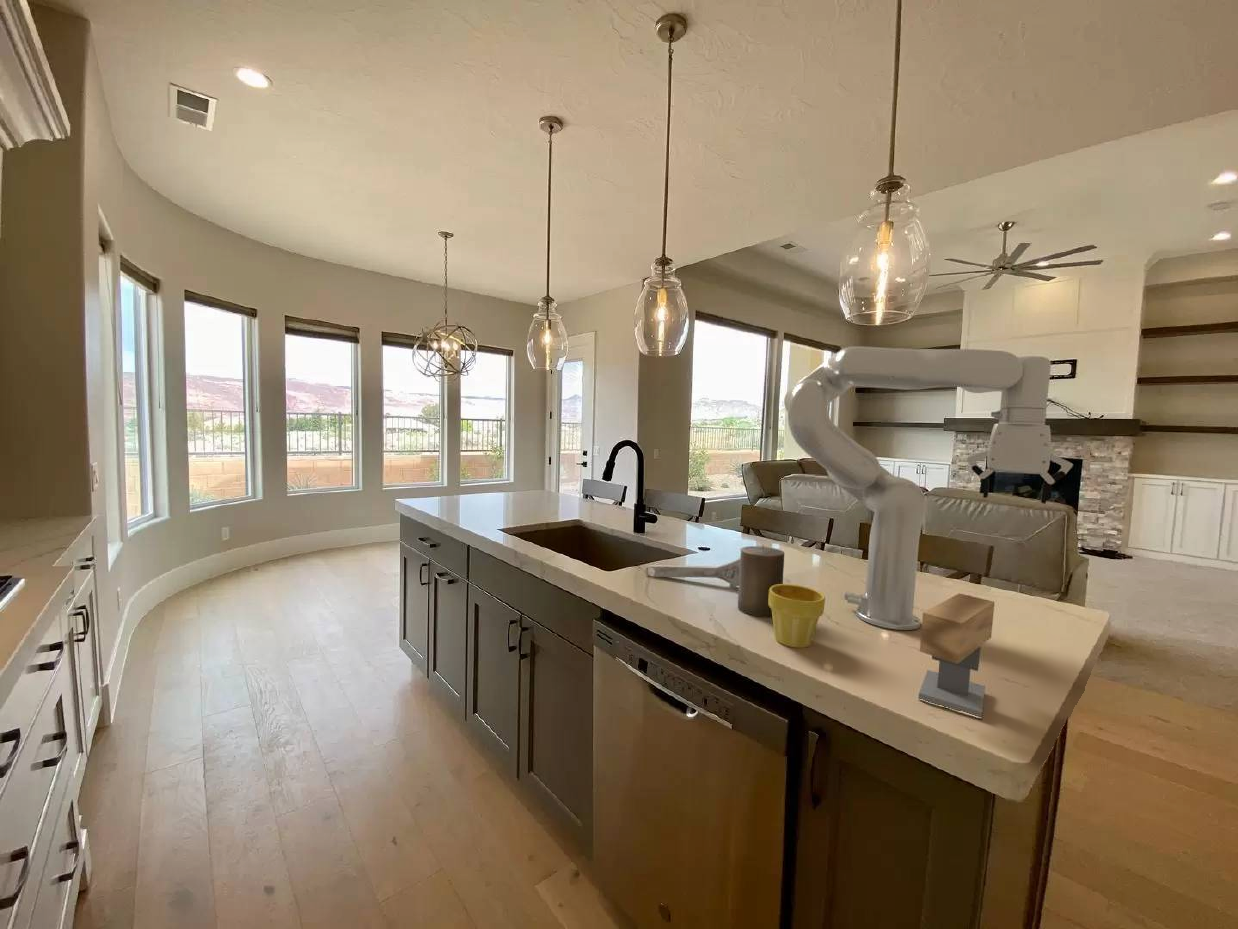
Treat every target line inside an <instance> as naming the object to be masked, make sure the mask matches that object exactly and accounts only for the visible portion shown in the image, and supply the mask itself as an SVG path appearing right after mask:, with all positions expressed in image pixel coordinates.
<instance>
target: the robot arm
mask: <svg viewBox="0 0 1238 929" xmlns="http://www.w3.org/2000/svg"><path fill="white" fill-rule="evenodd" d="M1051 365H1052V364H1051V361H1050V359H1049V358H1047V357H1044V356H1038V355H1037V356H1036V355H1034V356H1029V355H1028V356H1017V355H1016V354H1014V353H1011V352H1008V351H1006V350H1005V351H1003V350H993V349H972V348H968V349H967V348H950V349H948V348H946V349H945V348H941V349H939V348H937V349H936V348H921V349H920V348H900V347H899V348H895V347H893V348H892V347H877V346H876V347H875V346H860V345H859V346H848V347H844V348H842V349H841V350H839V351H838V352H836V353H834V354H833V355H831V357H830V358H828V359H827V360H826V361H824V362H823V363H822V364H821V365H819V366H818V367H817V368H815V369H814V370H812V371H811V372H810V373H808V374H807V375H806V376H804V377H803V378H801V379H800V380H799V381H798V382H796V383H795V384H793V385H792V386H790V388H789V389H788V390H787V391H786V393H785V395H784V399H783V400H784V408H785V410H786V412H787V422H788V427H789V431H790V433H791V435H792V438H793V439H794V442H795V443H796V444H797V445H798V447H799V448H800V449H802V450H803V452H805V453H806V454H808V456H809V457H811V458H812V459H813V460H814V461H815V462H816V463H818V465H820V466H821V467H822V468H824V469H825V470H826V473H827V476H828V477H829V478H830V479H831V480H832V481H833V482H834V483H835V484H837V485H838V486H839V487H840V488H842V489H843V490H844V491H845V492H846V493H848V494H849V495H850V496H851V497H853V498H854V499H856V500H857V501H859V503H861V504H862V505H863V506H864V507H866V508H867V509H869V511H872V512H873V519H872V523H871V526H870V532H869V542H868V555H867V557H868V558H867V566H866V567H867V568H866V570H867V571H866V579H865V580H866V581H865V590H864V591H865V592H864V593H860V594H856V593H854V592H849V591H845V593H844V598H843V599H844V600H845V601H847V603H849V604H852V605H857V606H858V607H857V608H856V610H855V611H856V613H855V614H856V616H857V617H858V618H859V619H860V620H862V621H864V622H865V623H868V624H871V625H873V626H877V627H881V628H884V629H889V630H895V631H913V630H916V629H918V628H920V627H921V623H922V621H921V619H920V618H919V617H918V616H917V615H915V614H914V603H915V593H916V592H915V591H916V590H915V589H916V578H917V569H918V568H917V567H918V558H919V557H918V556H919V547H920V546H919V544H920V536H921V531H922V525H923V522H924V518H925V514H926V508H927V501H926V496H925V494H924V492H923V490H922V489H921V487H920V486H919V485H918V484H917V483H915V482H914V481H912V480H910V479H908V478H905V477H901V476H895V475H894V474H893V473H891V472H890V471H888V470H887V469H885V468H884V467H883V466H882V465H881V464H880V462H879V460H878V458H877V456H876V455H874V453H872V451H870V450H869V449H867V448H865V447H863V446H862V445H860V443H858V442H857V441H856V440H854V439H853V438H851V437H850V436H849V435H848V434H846V433H845V432H844V431H843V430H842V429H840V428H839V427H838V426H837V425H836V424H835V423H834V421H832V419H831V418H830V416H829V409H828V408H829V404H830V403H832V402H833V401H834V400H836V399H837V398H838V397H840V396H841V395H843V394H844V393H845V392H847V391H848V390H849V389H850V388H852V387H863V388H878V389H893V390H927V389H933V388H934V389H936V388H961V389H962V390H963V391H966V392H968V393H971V394H982V393H983V394H984V393H992V392H993V393H994V392H995V393H996V392H1001V398H1000V406H999V410H997V411H996V410H995V411H991V412H990V418H991V419H995V420H997V421H998V423H994V424H993V426H992V430H991V433H990V434H991V435H990V438H989V444H988V449H987V450H984V451H983V452H979V453H976V454H973V455H970V456H968V457H967V460H966V461H967V462H968V464H969V466H970V468H971V470H972V471H973V472H974V473H975V474H976V475H977V476H978V477H979V478H980V489H979V494H983V495H982V498H984V499H986V498H988V497H989V488H990V478H989V476H990V475H991V474H993V473H994V472H1002V473H1003V472H1004V473H1016V474H1029V475H1030V474H1033V475H1040V476H1041V478H1043V479H1044V480H1043V481H1044V482H1043V483H1042V485H1041V486H1042V488H1041V496H1040V503H1042V505H1043V504H1045V505H1046V504H1047V500H1051V498H1052V491H1053V490H1052V489H1053V484H1055V483H1056V482H1058V481H1059V480H1060V479H1062V478H1064V477H1065V476H1066V475H1067V473H1068V472H1069V471H1070V470H1071V469H1072V468H1073V466H1074V464H1073V463H1072V462H1070V461H1068V460H1066V459H1063V458H1062V457H1059V456H1058V455H1055V454H1053V453H1051V450H1052V449H1051V448H1052V446H1051V445H1052V438H1051V437H1052V434H1051V428H1050V427H1051V426H1050V425H1049V424H1048V425H1047V424H1046V416H1047V407H1048V406H1047V405H1048V399H1049V398H1048V397H1049V396H1048V395H1049V386H1050V377H1051ZM985 458H987V459H986V467H987V468H985V470H983V469H982V468H981V467H980V466H979V465H978V463H977V461H978V460H981V459H985ZM1051 462H1052V463H1056V464H1057V465H1060V467H1061V468H1060V469H1059V470H1058V471H1057V472H1055V473H1054V474H1052V475H1051V474H1050V473H1049V472H1048V471H1049V469H1050V464H1051Z"/></svg>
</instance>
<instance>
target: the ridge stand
mask: <svg viewBox="0 0 1238 929" xmlns="http://www.w3.org/2000/svg"><path fill="white" fill-rule="evenodd" d="M981 648H982V647H981V646H980V647H979V648H977V649H976V650H975V651H974V652H972V653H971V654H970V655H969V656H967V657H966V658H965V659H964V660H962V661H961V662H960V663H958V664H956V663H953V662H950V661H947V660H944V659H941V658H938V657H935V656H932V655H931V659H932V660H934V661H937V662H939V663H938V671H937V672H936V671H933V670H929V669H927V670H926V673H925V676H924V677H923V678H924V679H923V681H922V684H921V687H920V689H919V692H918V699H923V700H925V701H928V702H931V703H934V704H937V705H942V706H944V707H948V708H951V709H954V710H957V711H963V712H966V713H969V714H972V715H975V716H978V717H981V719H982V717H983V715H982V714H983V709H984V708H983V706H984V701H985V700H984V699H985V692H986V691H985V690H986V685H984V684H980V683H975V682H972V681H970V679H971V670H972V671H975V672H979V667H980V659H981V658H980V657H981V650H982V649H981ZM983 700H984V701H983Z"/></svg>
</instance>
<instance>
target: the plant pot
mask: <svg viewBox="0 0 1238 929" xmlns="http://www.w3.org/2000/svg"><path fill="white" fill-rule="evenodd" d="M825 602H826V596H825V595H824V594H823V593H822V592H821V591H819V590H817V589H814V588H812V587H809V586H804V585H798V584H792V583H791V584H789V583H783V584H778V585H773V586H771V587H770V589H769V598H768V605H769V607H770V608H771V609H772V617H771V618H772V623H773V624H772V625H773V631H774V638H775V640H776V641H777V642H778V643H780V644H782V645H784V646H788V647H792V648H807V647H809V646H811V643H812V641H813V637H814V634H815V631H816V627H817V624H818V622H819V618H820V617H821V616H823V615H824V611H825V604H826V603H825Z"/></svg>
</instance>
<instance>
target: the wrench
mask: <svg viewBox="0 0 1238 929" xmlns="http://www.w3.org/2000/svg"><path fill="white" fill-rule="evenodd" d="M649 568H652V569H653V571H654V573H653V574H651V573H650V572H649ZM644 570H645V571H644V572H645V575H646V576H647V577H651V578H711V579H712V578H713V579H720V580H721V581H722V580H723V581H724V582H726V583H728V584H729V587H730V588H733V589H736V588H737V587H739V574H740V573H739V572H740V557H739V558H736V559H735V560H732V561H730V562H728V563H727V562H726V563H724V564H721V565H718V566H716V565H715V566H714V565H712V566H711V565H676V564H675V565H671V564H666V565H665V564H650V565H648V566H646V567H645V569H644Z"/></svg>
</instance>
